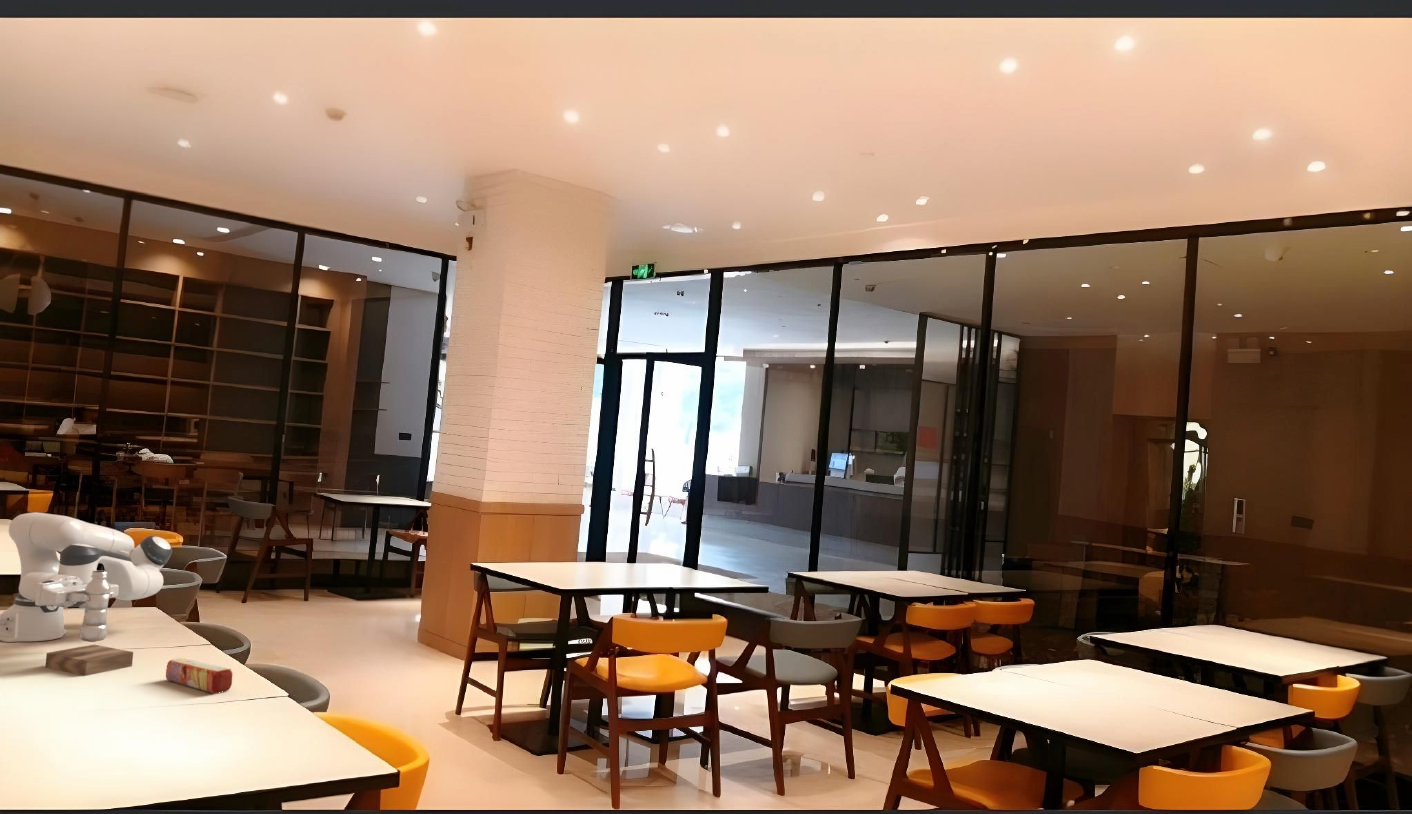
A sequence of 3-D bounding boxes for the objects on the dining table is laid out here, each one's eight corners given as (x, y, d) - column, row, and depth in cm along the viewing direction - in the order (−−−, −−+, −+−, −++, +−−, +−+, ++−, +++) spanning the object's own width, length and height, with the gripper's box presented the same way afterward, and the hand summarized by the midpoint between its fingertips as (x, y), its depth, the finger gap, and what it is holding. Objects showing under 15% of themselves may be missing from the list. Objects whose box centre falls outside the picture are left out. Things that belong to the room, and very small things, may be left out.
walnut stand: (45, 667, 264) (46, 652, 264) (92, 658, 277) (94, 644, 277) (85, 675, 258) (86, 660, 258) (132, 665, 271) (133, 651, 271)
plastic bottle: (94, 644, 264) (102, 573, 265) (73, 642, 265) (80, 571, 266) (111, 640, 270) (119, 570, 271) (90, 638, 271) (98, 568, 272)
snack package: (162, 681, 258) (164, 657, 258) (185, 677, 264) (187, 653, 264) (210, 696, 248) (212, 670, 248) (233, 691, 254) (235, 666, 254)
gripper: (98, 597, 282) (131, 603, 278) (29, 606, 263) (64, 612, 259) (100, 576, 283) (133, 581, 278) (31, 583, 264) (66, 589, 259)
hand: (99, 596), depth 268 cm, fingers closed on plastic bottle, 6 cm apart
